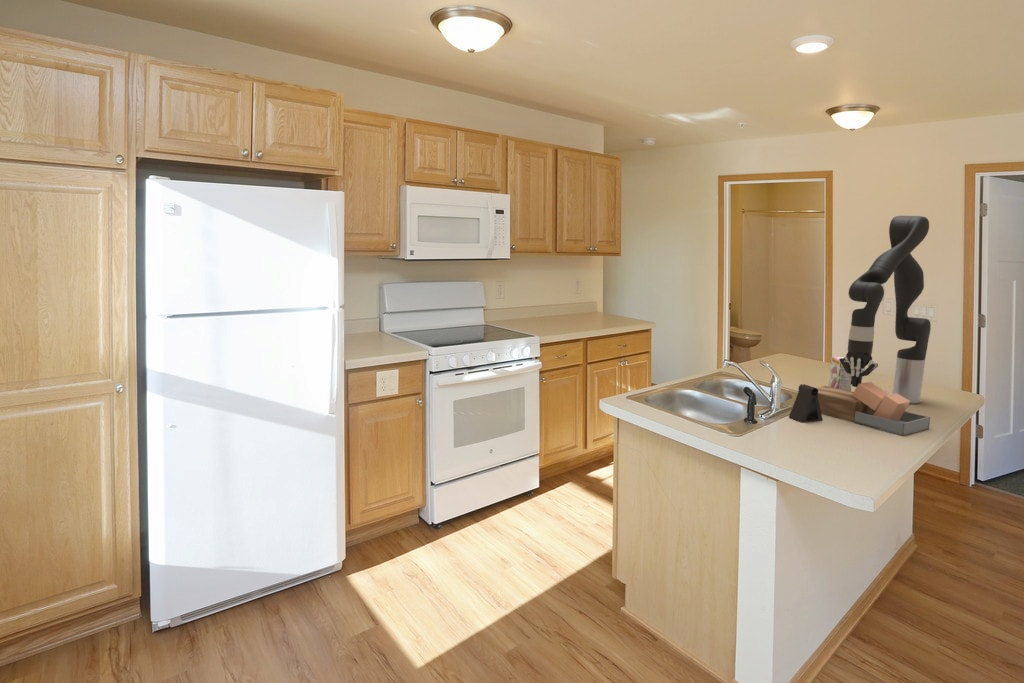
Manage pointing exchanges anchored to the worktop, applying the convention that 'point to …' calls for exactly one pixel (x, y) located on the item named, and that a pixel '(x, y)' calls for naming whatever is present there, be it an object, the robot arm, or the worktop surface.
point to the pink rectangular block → (869, 394)
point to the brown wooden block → (840, 403)
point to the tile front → (892, 407)
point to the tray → (895, 423)
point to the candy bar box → (839, 375)
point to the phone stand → (806, 405)
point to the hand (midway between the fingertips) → (855, 386)
